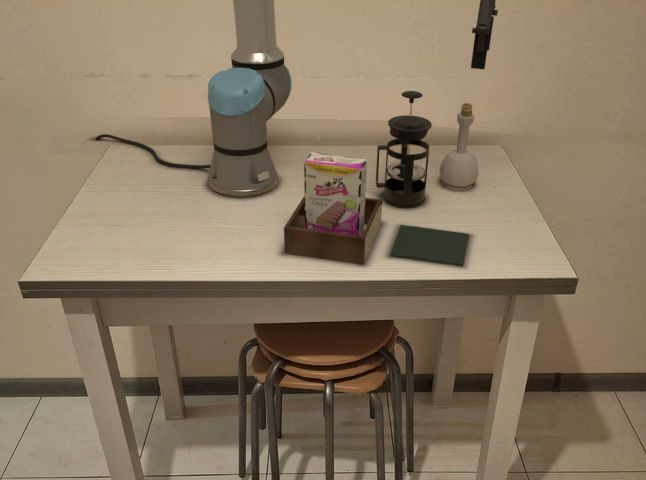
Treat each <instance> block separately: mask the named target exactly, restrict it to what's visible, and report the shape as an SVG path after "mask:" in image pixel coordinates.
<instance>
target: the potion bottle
mask: <svg viewBox="0 0 646 480" xmlns="http://www.w3.org/2000/svg"><path fill="white" fill-rule="evenodd" d="M474 120H475V114H474V113H473V104H471V103H469V102H464V103H463V104H462V105H461V106H460V112H458V113H457V114H456V121H457V123H458V135H457V143H456V149H453V150H449V152H448V153H446V155H445V156H444V158H443V159H442V161H441V164H440V166H439V174H440V179H441V180H442V182H441V183H442V184H443V186H444V187H445V188H447V189H450V190H453V191H466V190H468V189H471V188H472V187H473V184H474V183H476V181H477V179H478V177H479V165H478V159H477V157H476V155H475V154H474V153H473V152H472V151H469V150H467V147H468V139H469V133H470V126H471V125H473V123H474Z"/></svg>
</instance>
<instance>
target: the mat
mask: <svg viewBox="0 0 646 480" xmlns="http://www.w3.org/2000/svg"><path fill="white" fill-rule="evenodd" d="M469 238H470V233H466V232H460V231H452V230H444V229H435V228H430V227H429V228H428V227H421V226H413V225H406V224H400V227H399V229H398V232H397V235H396V237H395V240H394V242H393V245H392V248H391V251H390V253H389V254H390V255H389V257H394V258H399V259H409V260H415V261H420V262H421V261H422V262H430V263H437V264H443V265H451V266H457V267H464V262H465V257H466V253H467V249H468V248H467V247H468V243H469Z"/></svg>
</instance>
